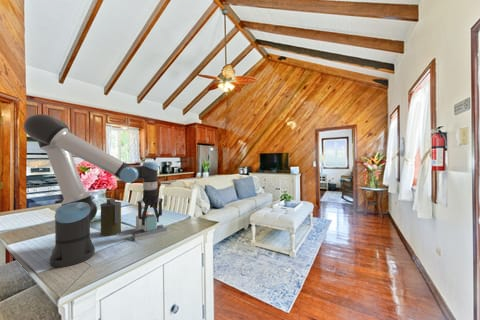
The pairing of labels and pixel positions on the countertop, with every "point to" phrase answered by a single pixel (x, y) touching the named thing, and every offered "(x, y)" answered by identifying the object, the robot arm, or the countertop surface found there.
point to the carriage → (150, 222)
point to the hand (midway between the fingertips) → (150, 229)
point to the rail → (148, 233)
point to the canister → (110, 218)
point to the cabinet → (139, 223)
